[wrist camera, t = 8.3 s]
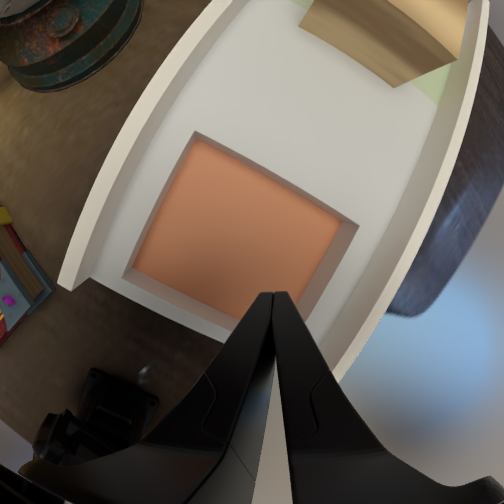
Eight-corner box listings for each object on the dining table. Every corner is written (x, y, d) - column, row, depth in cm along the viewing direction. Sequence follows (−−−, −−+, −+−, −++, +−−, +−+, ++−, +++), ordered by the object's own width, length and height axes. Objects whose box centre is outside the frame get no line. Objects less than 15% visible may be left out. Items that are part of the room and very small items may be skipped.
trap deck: (301, 357, 24) (325, 400, 18) (92, 259, 20) (57, 283, 14) (456, 19, 20) (489, 2, 14) (322, -74, 16) (340, -106, 10)
